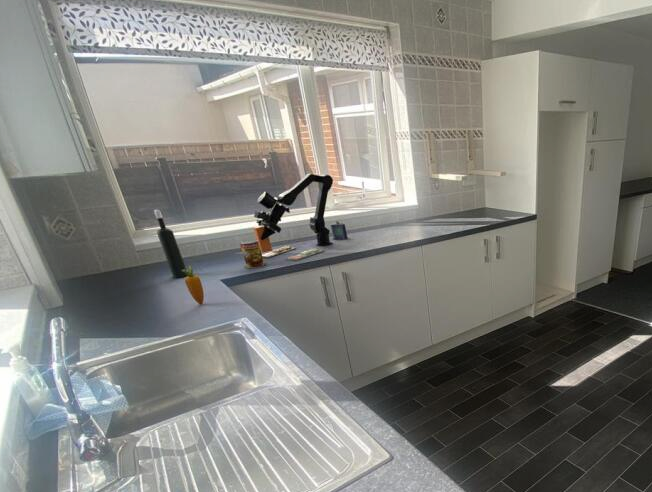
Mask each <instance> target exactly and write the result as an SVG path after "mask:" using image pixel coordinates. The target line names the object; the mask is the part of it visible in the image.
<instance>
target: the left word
mask: <svg viewBox="0 0 652 492" xmlns="http://www.w3.org/2000/svg"><path fill="white" fill-rule="evenodd" d="M293 250H297V249H296V247H292V246H288V245H285V246H282V247H280V248H274V249H272V251H268V252H264V253H261V254H262V257H263V258H271V257H275V256H278V255H281V254H284V253H289V252H290V251H293Z"/></svg>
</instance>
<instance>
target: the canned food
mask: <svg viewBox="0 0 652 492" xmlns="http://www.w3.org/2000/svg"><path fill="white" fill-rule="evenodd" d="M239 246H240V249H241V252H242V254H243V259H244V262H245V265H246V268H249V269H254V268H255V269H256V268H260V267H263V266H265V262H264V261H265V260H264V257H262V254H263V253H262V252H261V250H260V246H259V243H258V240H257V239H247V240H242V241H239Z"/></svg>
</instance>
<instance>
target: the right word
mask: <svg viewBox="0 0 652 492" xmlns="http://www.w3.org/2000/svg"><path fill="white" fill-rule="evenodd" d="M323 252H324V249H319V248H310V249H308V250H305V251H302V252H299V254H295V255H292V256H289V257H286V260H288V261H300V260H302V259H306V258H309V257H311V256H314V255H318V254H319V253H323Z"/></svg>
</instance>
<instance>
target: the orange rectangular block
mask: <svg viewBox="0 0 652 492" xmlns="http://www.w3.org/2000/svg"><path fill="white" fill-rule="evenodd" d="M252 229H253V232H254V236H255V238H256V239H255V240H258V243H259V246H260V250H261V254H264V253H269V252H272V250H273V248H272V245H271V244H272V243H271V241H270V236H269V237H267V238H266V239H264V240H261V236H262V234H263V232H264V230H265V229H264V225H261V226H259V225H256V226H253V227H252Z"/></svg>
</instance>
